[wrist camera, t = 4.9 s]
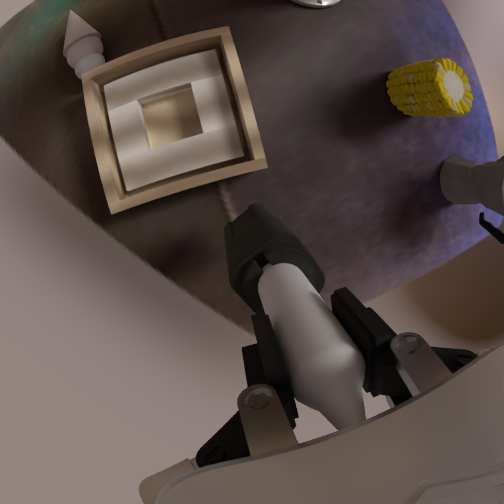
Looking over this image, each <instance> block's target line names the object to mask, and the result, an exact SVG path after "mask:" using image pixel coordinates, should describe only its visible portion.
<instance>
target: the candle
mask: <svg viewBox="0 0 504 504" xmlns="http://www.w3.org/2000/svg"><path fill="white" fill-rule="evenodd" d="M224 233H225V243H226V253H227V262H228V272H229V281H230V285H231V287H232V288H233V290H234V291H235V292H236V293H237V294H238V295H239V296H240V297H241V298H242V300H243V301H244V302H245V303H246V304H247V305H248V306H249V307H250V308H251V309H252V310H253V311H254V312H255V313H256V314H258V313H262V312H263V315H267V314H268V315H269V318H270V321H271V324H272V327H273V330H274V333H275V335H276V338H277V341H278V344H279V347H280V350H281V353H282V356H283V359H284V362H285V365H286V368H287V371H288V375H289V379H290V383H291V387H292V391H293V395H294V397H295V398H296V400H297V401H299V402H301V403H302V404H304V405H306V406H308V407H310V408H312V409H315V410H317V411H319V412H320V413H322V415H323V416H325V418H327V420H328V421H329V422H330V423H332V425H333V426H334V427H335V428H336V429H338V431H339V430H342V429H344V428H347V427H350V426H352V425H355V424H357V423H359V422H362V421H364V420H366V417H365V409H364V402H363V395H362V386H363V382H364V378H365V371H366V362H365V359H364V357H363V355H362V353H361V351H360V350H359V348H358V347H357V346H356V344H355V343H354V341H353V340H352V339H351V337H350V336H349V334H348V333H347V332H346V330H345V329H344V328H343V326H342V325H341V324H340V322H339V321H338V319H337V318H336V317H335V315H334V314H333V313H332V311H331V310H330V309H329V307H328V306H327V305H326V303H325V302H324V300H323V299H322V298H321V296H320V295H319V293H320V292H321V290H322V289H323V287H324V284H325V275H324V273H323V271H322V269H321V268H320V267H319V265H318V264H317V262H316V261H315V260H314V258H313V257H312V256H311V254H310V253H309V251H308V250H307V249H306V247H305V246H304V245H303V243H302V242H301V241H300V239H299V238H298V237H297V236H296V235H295V234H294V233H293V232H292V231H290V230H289V229H288V228H287V227H286V226H285V225H284V224H283V223H282V222H281V221H280V220H279V219H278V218H276V217H275V216H274V215H273V214H272V213H271V212H270V211H269V210H268V209H267V208H266V207H264V206H263V205H262V204H258V203H254V204H251V205H250V206H249V208H248V209H247V210H246V211H245V212H244V213H242V214H241V215H240V216H239V217H237V218H236V219H235V220H234V221H232V222H228V223H227V224H226V226H225V229H224Z"/></svg>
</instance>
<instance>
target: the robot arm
mask: <svg viewBox="0 0 504 504" xmlns="http://www.w3.org/2000/svg"><path fill="white" fill-rule="evenodd" d="M291 1H293V2H295V3H298V4H301V5H304V6H308V7H314V8H327V7H331V6H334V5H336V4H337V3H338V2H340V0H291ZM331 304H332V313H333V314H334V315H335V317H336V318H337V319H338V321H339V322H340V324H341V325H342V326H343V328H344V329H345V330H346V332H347V333H348V334H349V336H350V337H351V339H352V340H353V341H354V343H355V344H356V346H357V347H358V348H359V350H360V351H361V353H362V355H363V357H364V359H365V362H366V371H365V378H364V382H363V386H362V387H363V388H364V390H365V391H366V392H367V393H368V392H371V394H372V396H373V397H376V396H378V395H380V394H381V395H385V396H386V400H387V402H388V404H389V406H390V408H391V409H389V410H387V411H384V412H383V413H380V414H378V415H376V416H374V417H371V418H369V419H367V420H364V421H362V422H359V423H357V424H355V425H352V426H350V427H347V428H344V429H342V430H339V431H336V432H334V433H331V434H328V435H325V436H322V437H319V438H316V439H313V440H310V441H307V442H303V443H300V444H299V443H298V441H297V439H296V437H295V434H294V432H293V429H294V428H295V427H296V423H295V420H294V419H295V418H298V417H299V416H298V412H297V408H296V403H295V400H294V395H293V391H292V387H291V383H290V379H289V375H288V371H287V368H286V365H285V362H284V359H283V356H282V353H281V350H280V347H279V344H278V341H277V338H276V335H275V333H274V330H273V327H272V324H271V321H270V318H269V315H268V314H267V315H263V312H262V313H258V314H255V315H251V318H252V322H253V326H254V331H255V335H256V339H257V344H253V345H249V346H245V347H242V354H243V360H244V366H245V373H246V380H247V385H248V387H247V388H246V389H245V390H243V391H242V392H241V393H240V395H239V397H238V399H237V405H238V409H239V410H238V411H237V413H236V414H235V415H234V416H233V417H232V418H231V419H230V420H229V421H228V422H227V423H226V424H225V425H224V426H223V427H222V428H221V429H220V430H219V431H218V432H217V433H216V434H215V435H214V436H213V437H212V438H211V439H209V440H208V441H207V442H206V443H205V444H204V445H203V446H202V447H201V448H200V449H199V451H198V452H197V455H196V457H195V458H193V459H191V460H189V459H188V458H187V459H185V460H183V461H182V462H179V463H177V464H175V465H173V466H171V467H169V468H167V469H165V470H163V471H161V472H158V473H156V474H154V475H151V476H149V477H147V478H146V479H144V480H143V481H142V482H141V484H140V486H139V494H140V496H141V499H142V501H143V503H144V504H504V343H503V344H500V345H498V346H496V347H494V348H489V349H484V350H479V351H476V354H474V353H473V352H471V351H469V350H465V349H451V348H440V347H430V346H429V345H428V343H427V342H426V341H425V340H424V339H423V338H422V337H421V336H420V335H418V334H416V333H410V332H405V333H401V334H399V335H397V334H396V333H395V332H394V331H393V330H392V329H391V328H390V327H389V326H388V325H387V324H386V323H385V322H384V321H383V320H382V319H381V317H380V316H378V314H377V313H376V312H375V311H374V310H373V309H371V308H370V307H368V308H366V307H365V306H364V305H363V304H362V303H361V302H360V301H359V300H358V299H357V298H356V297H355V296H354V295H353V294H352V293H351V292H350V291H349V290H348V289H347V288H346V287H344V288H341V289H338V290H335V291H334V294H332V295H331Z"/></svg>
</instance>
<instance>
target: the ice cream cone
mask: <svg viewBox="0 0 504 504" xmlns="http://www.w3.org/2000/svg"><path fill="white" fill-rule="evenodd" d="M102 53H103V44H102V41H101V34H100V33H98V32H97V31H96V30H95V29H94V28H92V27H91V26H90V25H89V24H88V23H86V22H85V21H84V20H83V19H81V18H80V17H79V16H78V15H76V14H75V13H74V12H73V11H71V10H70V13H69V18H68V24H67V29H66V35H65V42H64V50H63V56H64V57H66V58H67V62H68V64H69V65H70V66H71V67H72V68H74V69H75V74H76V76H77V77H78V78H79V79H81V80H82V76H81V75H82V74H84V73H86V72H88V71H90V70H92V69H94V68H96V67H98V66H101V65H103V64H105V59H104V57H103V55H102Z"/></svg>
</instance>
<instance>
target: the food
mask: <svg viewBox="0 0 504 504" xmlns="http://www.w3.org/2000/svg"><path fill="white" fill-rule="evenodd" d="M388 79H389V80H387V81H386V87H387V88H388V91H387V94H388V95H389V96H390V100H391V103H392V104H394V105H396V107H397V109H398V110H400V111H403V113H404V114H406V115H412V116H423V117H425V116H429V117H432V116H433V115H434V116H435V117H439V116H444V117H448V116H450V117H451V116H453V117H456V116H460V117H461V116H462V115H463V114H465V115H466V114H467V113H469V111H470V109H472V101H473V95H472V94H471V93H470V92H471V87H470V85H469V83H468V81H469V80H468V78H467V76H466V74H464V73H463V69H462V68H461V67H460V66H459V65H456V63H454V62H453V61H451V60H450V59H448V58H436V59H434V60H432V59H430V60H425V61H422V62H417V63H413V64H410V65H406V66H403V67H399V68H397V69H393V70H392V73H390V74H389V75H388Z"/></svg>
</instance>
